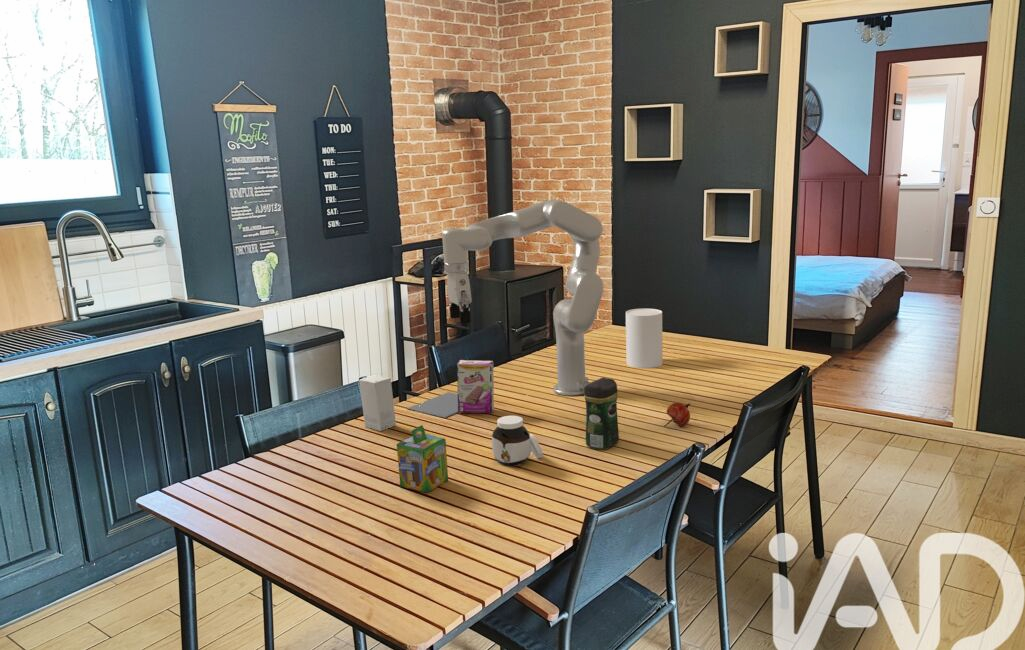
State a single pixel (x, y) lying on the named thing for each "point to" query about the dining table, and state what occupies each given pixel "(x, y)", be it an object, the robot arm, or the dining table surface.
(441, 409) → the slate mat
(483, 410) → the candy bar box
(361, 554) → the dining table surface
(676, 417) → the pomegranate
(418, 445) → the chalk box
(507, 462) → the spread jar
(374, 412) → the skincare box
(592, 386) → the coffee jar
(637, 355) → the canister
